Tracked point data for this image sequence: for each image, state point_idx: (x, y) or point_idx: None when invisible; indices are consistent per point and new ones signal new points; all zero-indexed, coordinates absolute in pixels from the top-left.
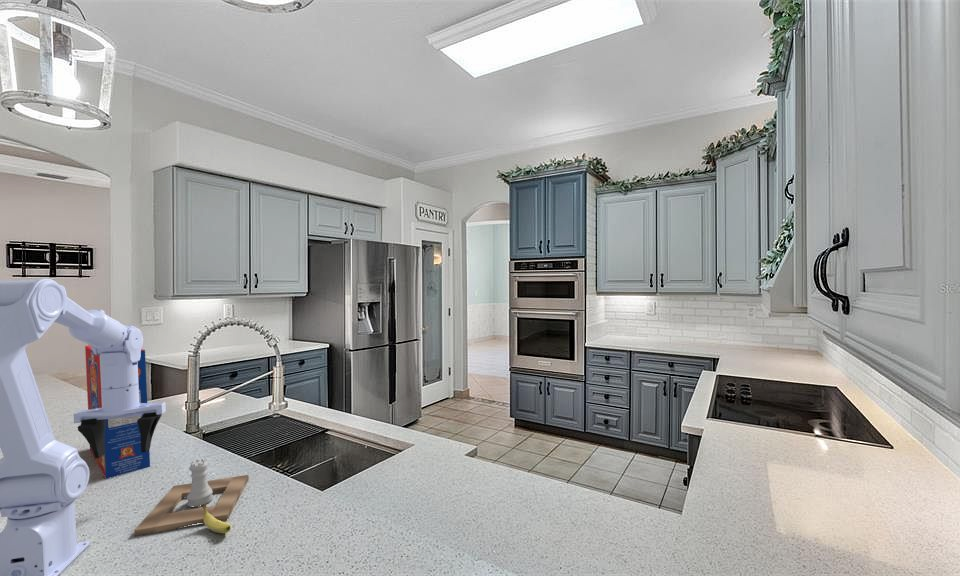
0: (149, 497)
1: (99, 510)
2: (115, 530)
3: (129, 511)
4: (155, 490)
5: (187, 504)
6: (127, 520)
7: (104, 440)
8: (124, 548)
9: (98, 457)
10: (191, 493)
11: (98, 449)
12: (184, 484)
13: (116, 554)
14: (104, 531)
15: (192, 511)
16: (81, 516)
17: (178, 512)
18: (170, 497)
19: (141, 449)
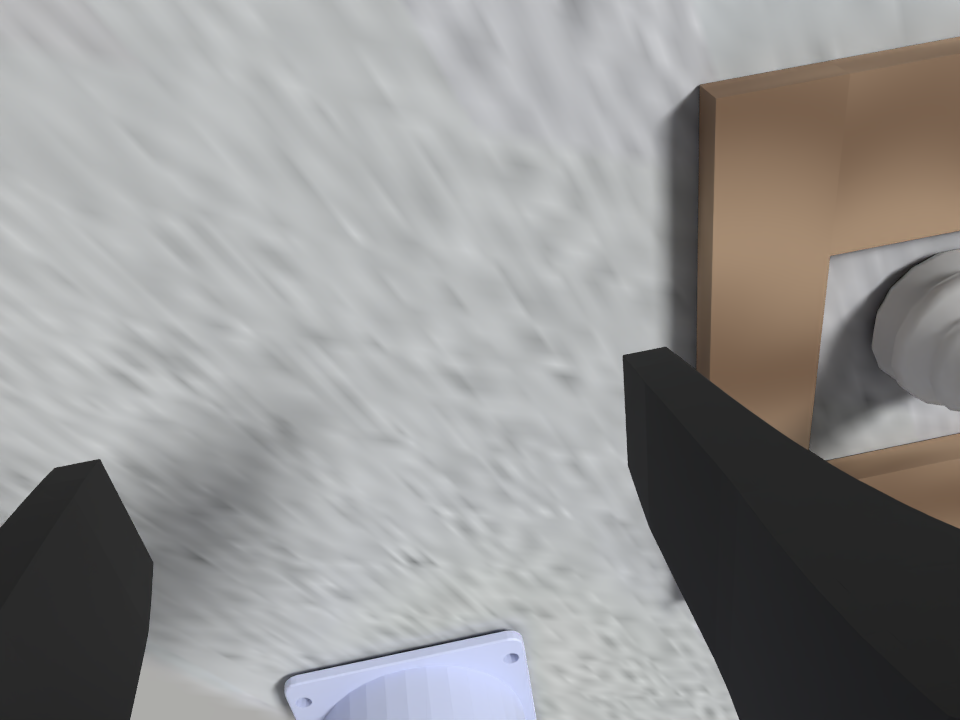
0: (543, 175)
1: (267, 324)
2: (563, 538)
3: (513, 364)
4: (523, 37)
5: (882, 368)
6: (569, 459)
7: (11, 589)
8: (692, 648)
9: (148, 572)
10: (950, 409)
11: (125, 657)
12: (804, 86)
13: (680, 675)
14: (507, 542)
15: (941, 482)
16: (201, 387)
17: (869, 485)
18: (763, 308)
19: (645, 504)
